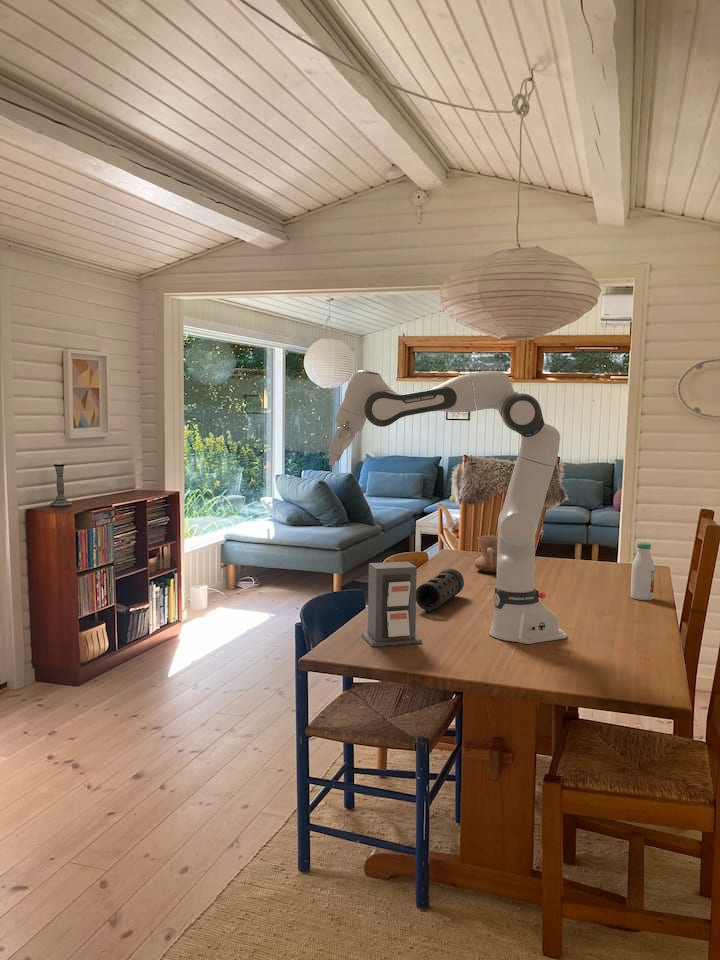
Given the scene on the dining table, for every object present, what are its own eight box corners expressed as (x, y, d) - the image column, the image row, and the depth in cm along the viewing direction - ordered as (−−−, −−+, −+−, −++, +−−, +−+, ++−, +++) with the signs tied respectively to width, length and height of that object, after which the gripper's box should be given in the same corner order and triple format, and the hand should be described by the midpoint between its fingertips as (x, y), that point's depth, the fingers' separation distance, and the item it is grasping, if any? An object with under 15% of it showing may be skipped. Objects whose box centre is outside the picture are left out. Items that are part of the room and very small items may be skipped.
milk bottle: (645, 601, 274) (648, 546, 273) (626, 597, 280) (628, 542, 278) (657, 598, 279) (659, 543, 277) (637, 594, 285) (640, 540, 283)
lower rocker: (409, 635, 221) (407, 610, 222) (410, 635, 219) (409, 610, 220) (387, 636, 219) (386, 611, 220) (389, 636, 218) (387, 611, 219)
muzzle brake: (413, 612, 258) (414, 581, 257) (440, 594, 283) (440, 566, 282) (441, 615, 254) (441, 584, 253) (465, 597, 279) (466, 568, 278)
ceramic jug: (478, 566, 334) (479, 533, 333) (512, 568, 329) (513, 535, 328) (470, 574, 317) (470, 540, 316) (505, 577, 312) (506, 542, 311)
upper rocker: (407, 603, 222) (410, 581, 219) (409, 605, 220) (411, 583, 218) (386, 604, 220) (388, 582, 218) (387, 606, 219) (389, 584, 216)
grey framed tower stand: (409, 632, 234) (411, 560, 232) (421, 643, 223) (423, 567, 221) (361, 635, 230) (362, 562, 228) (371, 646, 219) (372, 570, 217)
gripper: (355, 427, 224) (337, 471, 227) (363, 421, 244) (347, 461, 247) (334, 419, 224) (317, 463, 227) (345, 414, 244) (329, 454, 247)
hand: (333, 462), depth 237 cm, fingers open, 8 cm apart
